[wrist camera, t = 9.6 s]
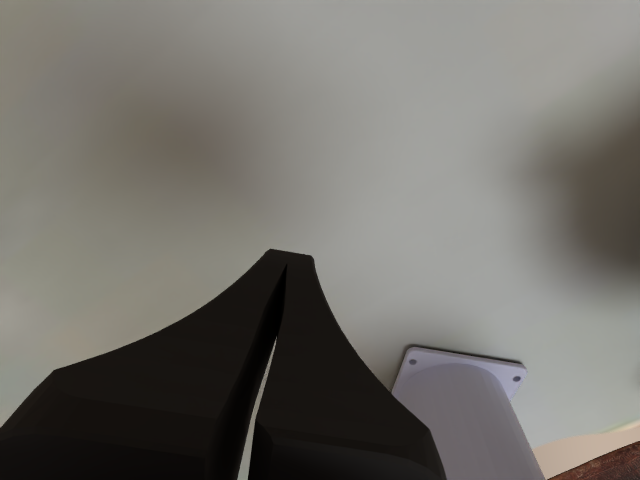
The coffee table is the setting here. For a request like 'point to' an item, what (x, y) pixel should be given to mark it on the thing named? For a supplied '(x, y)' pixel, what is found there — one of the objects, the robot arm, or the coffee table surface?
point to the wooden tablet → (608, 466)
